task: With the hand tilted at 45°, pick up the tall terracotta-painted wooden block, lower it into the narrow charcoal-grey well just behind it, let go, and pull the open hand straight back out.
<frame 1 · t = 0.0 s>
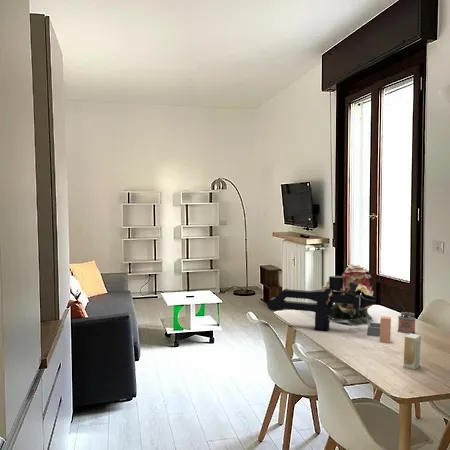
hand: (376, 300, 238), 17 cm above the table, tool horizontal, fingers open, 9 cm apart
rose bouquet: (350, 320, 267), on the table
skincare box: (411, 366, 193), on the table
terracotta block: (384, 341, 228), on the table
well: (378, 333, 240), on the table
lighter: (406, 332, 243), on the table
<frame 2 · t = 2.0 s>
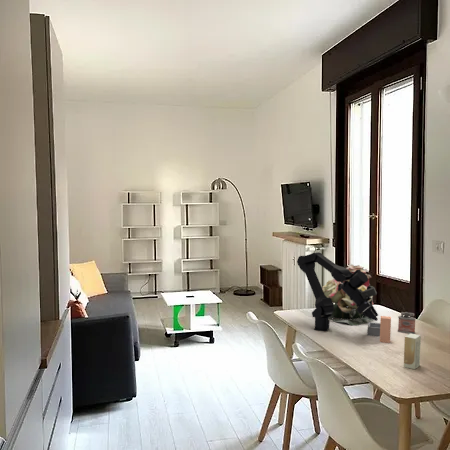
hand: (377, 317, 228), 10 cm above the table, tool tilted 45°, fingers open, 9 cm apart
nothing on the table moved.
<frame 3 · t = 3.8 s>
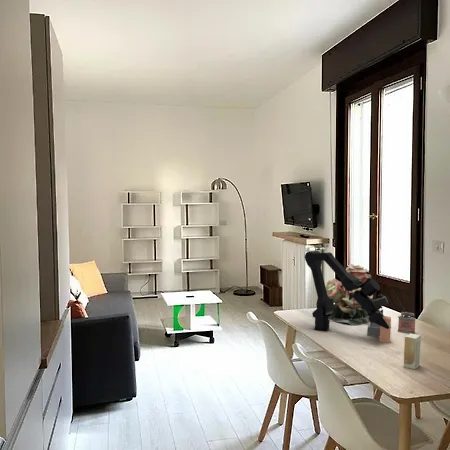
hand: (388, 327, 227), 7 cm above the table, tool tilted 45°, fingers closed on terracotta block, 4 cm apart
terracotta block: (384, 341, 228), on the table, touching gripper
everything else where it was.
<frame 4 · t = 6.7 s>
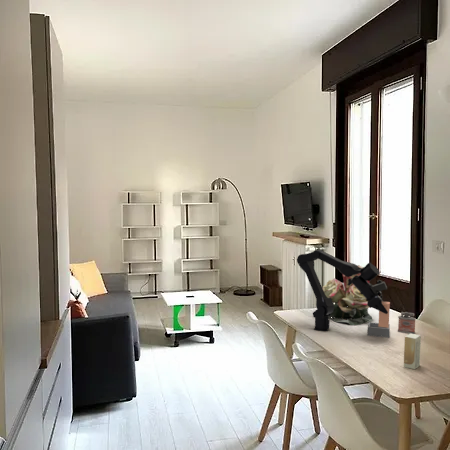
hand: (387, 312, 229), 13 cm above the table, tool tilted 45°, fingers closed on terracotta block, 4 cm apart
terracotta block: (383, 326, 230), point 6 cm above the table, touching gripper
everything else where it was.
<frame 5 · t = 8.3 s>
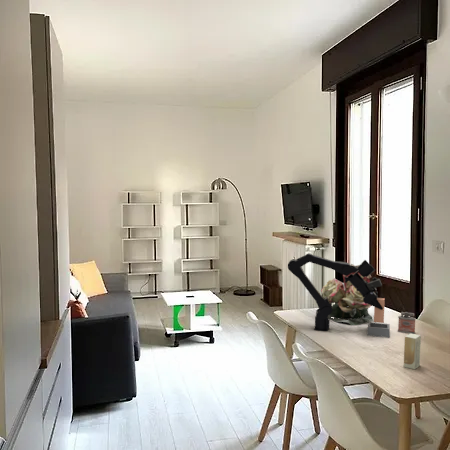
hand: (382, 308, 239), 13 cm above the table, tool tilted 45°, fingers closed on terracotta block, 4 cm apart
terracotta block: (378, 321, 240), point 6 cm above the table, touching gripper
everything else where it was.
when the fingers open (8 cm above the table, at t = 9.6 s): terracotta block stays where it is, resting on well.
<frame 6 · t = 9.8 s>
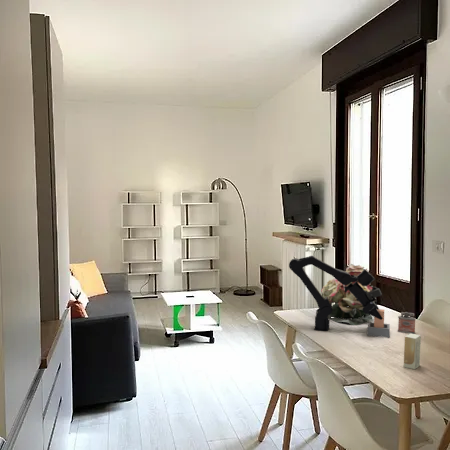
hand: (382, 317, 239), 8 cm above the table, tool tilted 45°, fingers open, 7 cm apart
terracotta block: (378, 332, 240), resting on well
everything else where it was.
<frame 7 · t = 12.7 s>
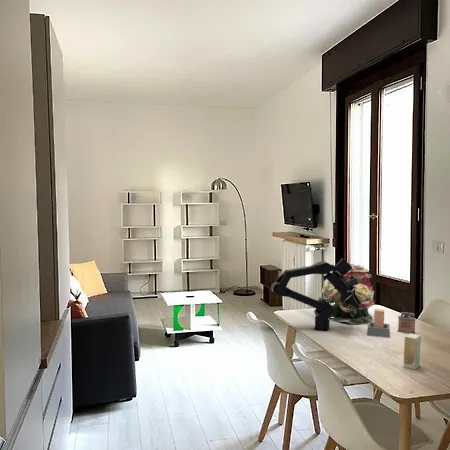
hand: (359, 305, 242), 13 cm above the table, tool tilted 45°, fingers open, 9 cm apart
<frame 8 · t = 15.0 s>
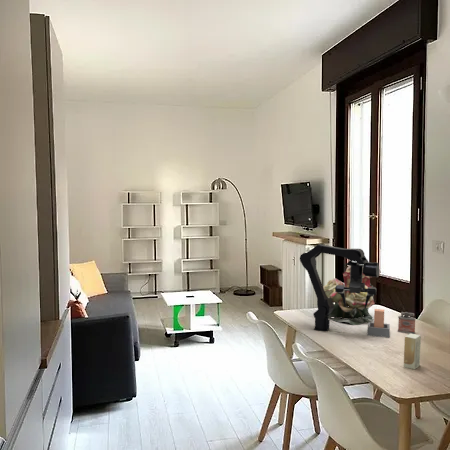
hand: (355, 307, 237), 13 cm above the table, tool pointing down, fingers open, 9 cm apart
at the end: terracotta block 0.1 cm off-centre on the well, point 0.5 cm above the well's base; terracotta block tilted 0°; the gripper is holding nothing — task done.
